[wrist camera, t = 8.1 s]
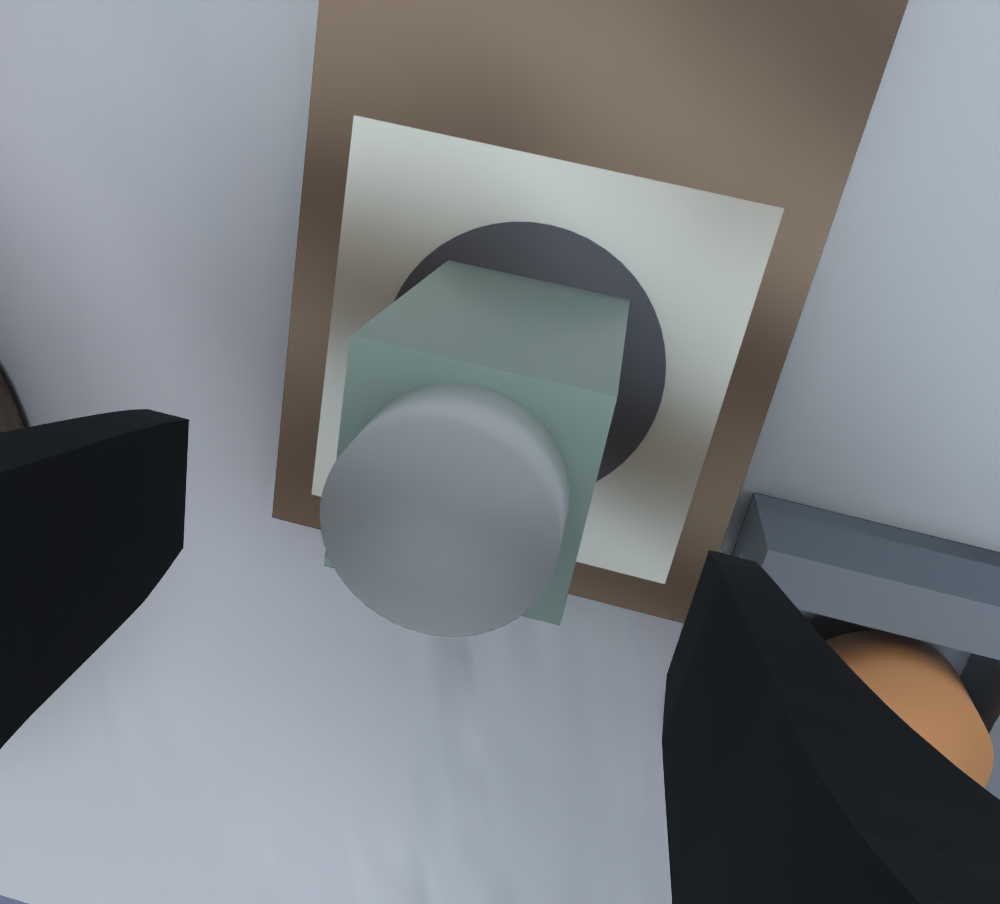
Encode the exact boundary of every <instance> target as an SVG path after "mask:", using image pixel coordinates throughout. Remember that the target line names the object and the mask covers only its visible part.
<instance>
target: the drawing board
mask: <svg viewBox="0 0 1000 904" xmlns="http://www.w3.org/2000/svg"><path fill="white" fill-rule="evenodd" d="M907 3H908V0H319V11H318V22H317V33H316V43H315V54H314V65H313V76H312V87H311V98H310V109H309V120H308V131H307V142H306V153H305V164H304V175H303V185H302V196H301V207H300V218H299V229H298V240H297V251H296V262H295V273H294V284H293V295H292V306H291V317H290V328H289V338H288V349H287V360H286V371H285V382H284V393H283V404H282V415H281V426H280V437H279V448H278V459H277V470H276V480H275V491H274V502H273V513H272V517H273V518H277V519H281V520H285V521H288V522H292V523H296V524H300V525H304V526H308V527H312V528H316V529H320V530H321V525H320V502H321V496H322V491H323V488H324V485H325V482H326V479H327V476H328V474H329V472H330V470H331V468H332V467H333V465H334V463H335V462H336V456H337V448H338V439H339V430H340V421H341V412H342V403H343V394H344V385H345V376H346V367H347V358H348V349H349V341H350V336H351V335H352V334H353V333H354V332H356V331H357V330H358V329H360V328H361V327H362V326H363V325H365V324H366V323H367V322H369V321H370V320H371V319H373V318H374V317H375V316H376V315H378V314H379V313H380V312H382V311H383V310H384V309H386V308H387V307H388V306H389V305H391V304H392V303H393V302H395V301H396V300H397V299H399V298H400V297H401V296H402V295H404V294H405V293H406V292H408V291H409V290H410V289H412V288H413V287H414V286H415V285H417V284H418V283H419V282H421V281H422V280H423V279H424V278H426V277H427V276H428V275H430V274H431V273H432V272H434V271H435V270H436V269H437V268H439V267H440V266H441V265H443V264H444V263H445V262H447V261H448V260H450V261H454V262H459V263H464V264H468V265H473V266H477V267H482V268H486V269H491V270H496V271H500V272H505V273H509V274H514V275H519V276H523V277H528V278H532V279H537V280H541V281H546V282H551V283H555V284H560V285H564V286H569V287H574V288H578V289H583V290H587V291H592V292H596V293H601V294H606V295H610V296H615V297H619V298H624V299H629V300H630V304H629V312H628V320H627V327H626V335H625V343H624V350H623V358H622V366H621V373H620V381H619V389H618V396H617V401H616V405H615V409H614V412H613V416H612V420H611V424H610V428H609V432H608V436H607V440H606V444H605V448H604V452H603V456H602V460H601V464H600V468H599V472H598V476H597V480H596V484H595V488H594V492H593V496H592V500H591V504H590V508H589V512H588V515H587V519H586V523H585V527H584V531H583V535H582V539H581V543H580V547H579V551H578V555H577V559H576V563H575V567H574V571H573V575H572V579H571V583H570V587H569V591H568V594H572V595H576V596H580V597H583V598H587V599H591V600H595V601H599V602H603V603H607V604H611V605H614V606H618V607H622V608H626V609H630V610H634V611H638V612H642V613H645V614H649V615H653V616H657V617H661V618H665V619H669V620H673V621H677V622H680V623H685V620H686V617H687V614H688V611H689V608H690V605H691V602H692V599H693V596H694V593H695V590H696V587H697V584H698V581H699V578H700V575H701V572H702V569H703V566H704V563H705V560H706V557H707V554H708V551H709V550H711V551H715V552H719V551H720V548H721V545H722V543H723V540H724V537H725V534H726V531H727V528H728V525H729V522H730V519H731V516H732V513H733V510H734V508H735V505H736V502H737V499H738V496H739V493H740V490H741V487H742V484H743V481H744V478H745V476H746V473H747V470H748V467H749V464H750V461H751V458H752V455H753V452H754V449H755V446H756V443H757V441H758V438H759V435H760V432H761V429H762V426H763V423H764V420H765V417H766V414H767V411H768V408H769V406H770V403H771V400H772V397H773V394H774V391H775V388H776V385H777V382H778V379H779V376H780V373H781V371H782V368H783V365H784V362H785V359H786V356H787V353H788V350H789V347H790V344H791V341H792V338H793V336H794V333H795V330H796V327H797V324H798V321H799V318H800V315H801V312H802V309H803V306H804V303H805V301H806V298H807V295H808V292H809V289H810V286H811V283H812V280H813V277H814V274H815V271H816V268H817V266H818V263H819V260H820V257H821V254H822V251H823V248H824V245H825V242H826V239H827V236H828V233H829V231H830V228H831V225H832V222H833V219H834V216H835V213H836V210H837V207H838V204H839V201H840V198H841V196H842V193H843V190H844V187H845V184H846V181H847V178H848V175H849V172H850V169H851V166H852V163H853V161H854V158H855V155H856V152H857V149H858V146H859V143H860V140H861V137H862V134H863V131H864V128H865V126H866V123H867V120H868V117H869V114H870V111H871V108H872V105H873V102H874V99H875V96H876V93H877V91H878V88H879V85H880V82H881V79H882V76H883V73H884V70H885V67H886V64H887V61H888V59H889V56H890V53H891V50H892V47H893V44H894V41H895V38H896V35H897V32H898V29H899V26H900V24H901V21H902V18H903V15H904V12H905V9H906V6H907Z"/></svg>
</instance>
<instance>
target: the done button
mask: <svg viewBox="0 0 1000 904" xmlns="http://www.w3.org/2000/svg"><path fill="white" fill-rule="evenodd" d="M826 642H827V643H828V644H829V645H830V646H831V648H832V649H833V650H834V651H835V652H836V653H837V654H838V655H839V656H840V657H841V659H842V660H843V661H844V662H845V663H846V664H847V665H848V666H849V667H850V668H851V669H852V670H853V671H854V672H855V673H856V674H857V675H858V676H859V677H860V678H861V680H862V681H863V682H864V683H865V684H866V685H867V686H868V687H869V688H870V689H871V690H872V691H873V692H874V693H875V694H876V695H877V696H878V697H879V698H880V699H881V700H882V701H883V702H884V703H885V704H886V705H887V706H888V707H890V708H891V709H892V710H893V711H894V712H895V713H896V714H897V715H898V716H899V717H900V718H901V719H902V720H903V721H905V722H906V723H907V724H908V725H909V726H910V727H911V728H912V729H913V730H915V731H916V732H917V733H918V734H919V735H920V736H922V737H923V738H924V739H925V740H926V741H927V742H929V743H930V744H931V745H932V746H933V747H934V748H936V749H937V750H938V751H939V752H940V753H941V754H943V755H944V756H945V757H946V758H947V759H948V760H950V761H951V762H952V763H953V764H954V765H955V766H957V767H958V768H959V769H960V770H962V771H963V772H964V773H965V774H967V775H968V776H969V777H971V778H972V779H973V780H974V781H976V782H977V783H978V784H980V785H981V786H982V787H983V788H985V787H986V785H987V782H988V780H989V778H990V775H991V772H992V768H993V759H994V754H993V745H992V742H991V738H990V735H989V733H988V731H987V729H986V727H985V725H984V723H983V721H982V719H981V717H980V715H979V713H978V711H977V710H976V708H975V706H974V704H973V702H972V700H971V698H970V696H969V694H968V692H967V691H966V689H965V687H964V685H963V683H962V681H961V679H960V677H959V675H958V673H957V672H956V670H955V669H954V667H953V666H952V664H951V663H950V662H949V661H948V660H947V659H946V658H945V657H944V656H943V655H942V654H941V653H940V652H938V651H937V650H936V649H935V648H933V647H931V646H930V645H928V644H926V643H925V642H922V641H920V640H918V639H914V638H910V637H906V636H902V635H898V634H894V633H890V632H886V631H859V632H851V633H847V634H843V635H839V636H836V637H833V638H830V639H828V640H826Z"/></svg>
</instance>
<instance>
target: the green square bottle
mask: <svg viewBox="0 0 1000 904" xmlns="http://www.w3.org/2000/svg"><path fill="white" fill-rule="evenodd" d="M629 304H630V300H629V299H624V298H619V297H615V296H610V295H606V294H601V293H596V292H592V291H587V290H583V289H578V288H574V287H569V286H564V285H560V284H555V283H551V282H546V281H541V280H537V279H532V278H528V277H523V276H519V275H514V274H509V273H505V272H500V271H496V270H491V269H486V268H482V267H477V266H473V265H468V264H464V263H459V262H454V261H450V260H448V261H447V262H445V263H444V264H443V265H441V266H440V267H439V268H437V269H436V270H435V271H434V272H432V273H431V274H430V275H428V276H427V277H426V278H424V279H423V280H422V281H421V282H419V283H418V284H417V285H415V286H414V287H413V288H412V289H410V290H409V291H408V292H406V293H405V294H404V295H402V296H401V297H400V298H399V299H397V300H396V301H395V302H393V303H392V304H391V305H389V306H388V307H387V308H386V309H384V310H383V311H382V312H380V313H379V314H378V315H376V316H375V317H374V318H373V319H371V320H370V321H369V322H367V323H366V324H365V325H363V326H362V327H361V328H360V329H358V330H357V331H356V332H354V333H353V334H352V335H351V336H350V341H349V349H348V358H347V367H346V376H345V385H344V394H343V403H342V412H341V421H340V430H339V439H338V448H337V456H336V462H335V463H334V465H333V467H332V468H331V470H330V472H329V474H328V476H327V479H326V482H325V485H324V488H323V491H322V496H321V502H320V525H321V533H322V537H323V541H324V545H325V548H326V554H325V563H324V566H327V567H331V568H335V570H336V572H337V573H338V575H339V576H340V577H341V579H342V580H343V582H344V583H345V585H346V586H347V587H348V588H349V589H350V590H351V591H352V592H353V594H354V595H355V596H356V597H357V598H359V599H360V600H361V601H362V602H363V603H364V604H365V605H366V606H368V607H369V608H370V609H372V610H373V611H375V612H376V613H377V614H379V615H381V616H382V617H384V618H386V619H388V620H389V621H391V622H393V623H396V624H398V625H400V626H402V627H405V628H407V629H411V630H414V631H417V632H420V633H425V634H430V635H436V636H448V637H456V636H470V635H477V634H481V633H485V632H489V631H492V630H495V629H497V628H500V627H502V626H505V625H507V624H508V623H510V622H512V621H514V620H515V619H517V618H519V617H520V616H525V617H529V618H533V619H537V620H541V621H545V622H549V623H553V624H557V625H560V622H561V618H562V615H563V611H564V607H565V603H566V599H567V595H568V591H569V587H570V583H571V579H572V575H573V571H574V567H575V563H576V559H577V555H578V551H579V547H580V543H581V539H582V535H583V531H584V527H585V523H586V519H587V515H588V512H589V508H590V504H591V500H592V496H593V492H594V488H595V484H596V480H597V476H598V472H599V468H600V464H601V460H602V456H603V452H604V448H605V444H606V440H607V436H608V432H609V428H610V424H611V420H612V416H613V412H614V409H615V405H616V401H617V396H618V389H619V381H620V373H621V366H622V358H623V350H624V343H625V335H626V327H627V320H628V312H629Z"/></svg>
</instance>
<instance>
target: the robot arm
mask: <svg viewBox="0 0 1000 904" xmlns="http://www.w3.org/2000/svg"><path fill="white" fill-rule="evenodd" d="M188 427H189V420H188V419H184V418H180V417H176V416H172V415H168V414H164V413H160V412H156V411H152V410H148V409H142V410H126V411H118V412H110V413H104V414H98V415H92V416H86V417H80V418H75V419H70V420H64V421H59V422H53V423H48V424H43V425H38V426H32V427H27V428H22V429H16V430H11V431H6V432H1V433H0V749H1V748H2V746H3V745H4V744H5V743H6V742H7V741H8V740H9V739H10V737H11V736H12V735H13V734H14V733H15V732H16V731H17V730H18V729H19V728H20V727H21V725H22V724H23V723H24V722H25V721H26V720H27V719H28V718H29V717H30V716H31V715H32V714H33V713H34V712H35V711H36V710H37V709H38V708H39V707H40V706H41V705H42V704H43V703H44V702H45V701H46V700H47V699H48V698H49V697H50V696H51V695H52V694H53V693H54V692H55V691H56V690H57V689H58V688H59V687H60V686H61V685H62V684H63V683H64V682H65V681H66V680H67V679H68V678H69V677H70V676H71V675H72V674H73V673H74V672H75V671H76V670H77V669H78V668H79V667H80V666H81V665H82V664H83V663H84V662H85V661H86V660H87V659H88V658H89V657H90V656H91V655H92V654H93V653H94V652H95V651H96V650H97V649H98V648H99V647H100V646H101V645H102V644H103V643H104V642H105V641H106V640H107V639H108V638H109V637H110V636H111V635H112V634H113V633H114V632H115V631H116V630H117V629H118V628H119V627H120V626H121V625H122V624H123V623H124V622H125V621H126V620H127V619H128V618H129V617H130V616H131V614H132V613H133V612H134V611H135V610H136V609H137V608H138V607H139V606H140V605H141V604H142V603H143V602H144V601H145V599H146V598H147V597H148V596H149V594H150V593H151V592H152V590H153V589H154V588H155V586H156V585H157V584H158V582H159V581H160V580H161V579H162V577H163V576H164V574H165V573H166V571H167V570H168V569H169V567H170V566H171V564H172V563H173V561H174V560H175V559H176V557H177V556H178V554H179V553H180V552H181V550H182V549H183V541H184V518H185V495H186V472H187V450H188ZM662 750H663V768H664V784H665V800H666V815H667V830H668V845H669V860H670V875H671V890H672V904H1000V799H998V798H997V797H995V796H994V795H993V794H991V793H990V792H989V791H987V790H986V789H985V788H983V787H982V786H981V785H980V784H978V783H977V782H976V781H974V780H973V779H972V778H971V777H969V776H968V775H967V774H965V773H964V772H963V771H962V770H960V769H959V768H958V767H957V766H955V765H954V764H953V763H952V762H951V761H950V760H948V759H947V758H946V757H945V756H944V755H943V754H941V753H940V752H939V751H938V750H937V749H936V748H934V747H933V746H932V745H931V744H930V743H929V742H927V741H926V740H925V739H924V738H923V737H922V736H920V735H919V734H918V733H917V732H916V731H915V730H913V729H912V728H911V727H910V726H909V725H908V724H907V723H906V722H905V721H903V720H902V719H901V718H900V717H899V716H898V715H897V714H896V713H895V712H894V711H893V710H892V709H891V708H890V707H888V706H887V705H886V704H885V703H884V702H883V701H882V700H881V699H880V698H879V697H878V696H877V695H876V694H875V693H874V692H873V691H872V690H871V689H870V688H869V687H868V686H867V685H866V684H865V683H864V682H863V681H862V680H861V678H860V677H859V676H858V675H857V674H856V673H855V672H854V671H853V670H852V669H851V668H850V667H849V666H848V665H847V664H846V663H845V662H844V661H843V660H842V659H841V657H840V656H839V655H838V654H837V653H836V652H835V651H834V650H833V649H832V648H831V646H830V645H829V644H828V643H827V642H826V641H825V640H824V639H823V637H822V636H821V635H820V634H819V633H818V632H817V631H816V629H815V628H814V627H813V626H812V625H811V624H810V623H809V621H808V620H807V619H806V618H805V617H804V616H803V614H802V613H801V612H800V611H799V610H798V608H797V607H796V606H795V605H794V604H793V603H792V601H791V600H790V599H789V598H788V597H787V595H786V594H785V593H784V592H783V591H782V590H781V588H780V587H779V586H778V585H777V584H776V583H775V581H774V580H773V579H772V578H771V577H770V576H769V575H768V573H767V572H766V571H765V570H764V569H763V568H762V567H761V566H760V565H759V564H758V563H757V562H755V561H751V560H747V559H743V558H739V557H735V556H731V555H727V554H723V553H719V552H715V551H711V550H709V551H708V554H707V557H706V560H705V563H704V566H703V569H702V572H701V575H700V578H699V581H698V584H697V587H696V590H695V593H694V596H693V599H692V602H691V605H690V608H689V611H688V614H687V617H686V620H685V623H684V626H683V629H682V632H681V635H680V638H679V641H678V644H677V646H676V649H675V652H674V655H673V658H672V661H671V664H670V667H669V670H668V673H667V680H666V692H665V704H664V718H663V733H662ZM0 904H27V903H24V902H21V901H18V900H14V899H11V898H8V897H4V896H1V895H0Z"/></svg>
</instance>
